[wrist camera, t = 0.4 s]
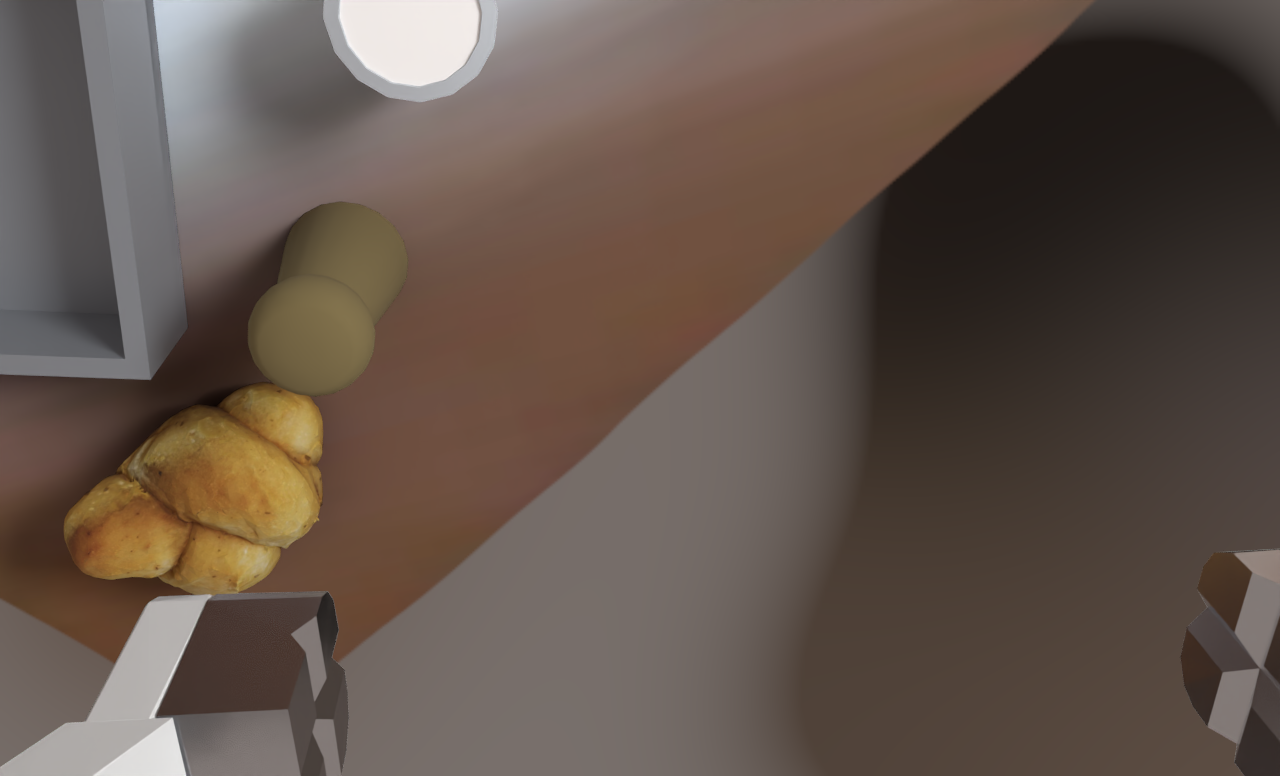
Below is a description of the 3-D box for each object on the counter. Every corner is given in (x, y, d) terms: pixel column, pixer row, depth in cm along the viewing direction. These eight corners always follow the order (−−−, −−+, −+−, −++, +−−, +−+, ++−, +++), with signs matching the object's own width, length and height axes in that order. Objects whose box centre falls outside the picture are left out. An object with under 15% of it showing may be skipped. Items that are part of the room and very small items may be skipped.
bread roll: (265, 330, 57) (225, 402, 50) (393, 459, 61) (373, 543, 54) (87, 465, 60) (25, 552, 53) (220, 581, 64) (179, 676, 56)
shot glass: (332, 38, 51) (302, 67, 45) (371, -117, 48) (346, -108, 42) (477, 91, 52) (468, 126, 46) (524, -56, 50) (521, -39, 43)
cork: (292, 317, 57) (239, 420, 47) (276, 202, 54) (217, 285, 44) (413, 315, 57) (385, 416, 47) (403, 200, 54) (371, 283, 45)
